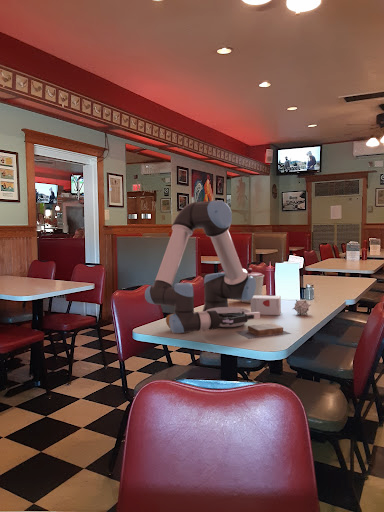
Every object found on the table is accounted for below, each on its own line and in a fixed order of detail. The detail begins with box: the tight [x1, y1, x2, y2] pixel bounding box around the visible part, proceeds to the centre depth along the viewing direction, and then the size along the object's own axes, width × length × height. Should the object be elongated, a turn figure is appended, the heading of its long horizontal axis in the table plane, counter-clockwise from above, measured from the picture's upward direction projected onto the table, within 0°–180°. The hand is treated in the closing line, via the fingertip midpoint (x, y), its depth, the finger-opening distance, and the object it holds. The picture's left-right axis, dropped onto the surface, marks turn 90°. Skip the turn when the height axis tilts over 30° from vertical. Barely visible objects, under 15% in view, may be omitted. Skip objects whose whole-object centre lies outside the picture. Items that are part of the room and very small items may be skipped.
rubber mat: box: [235, 329, 292, 340], centre depth 174 cm, size 20×13×1 cm, turn 110°
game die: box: [292, 298, 311, 316], centre depth 211 cm, size 9×8×10 cm
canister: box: [239, 267, 265, 304], centre depth 253 cm, size 18×18×21 cm
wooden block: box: [247, 322, 284, 336], centre depth 174 cm, size 2×9×12 cm
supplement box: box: [250, 295, 282, 316], centre depth 216 cm, size 9×9×15 cm
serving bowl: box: [206, 306, 251, 328], centre depth 189 cm, size 21×21×7 cm
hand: (259, 315), depth 172 cm, fingers closed
